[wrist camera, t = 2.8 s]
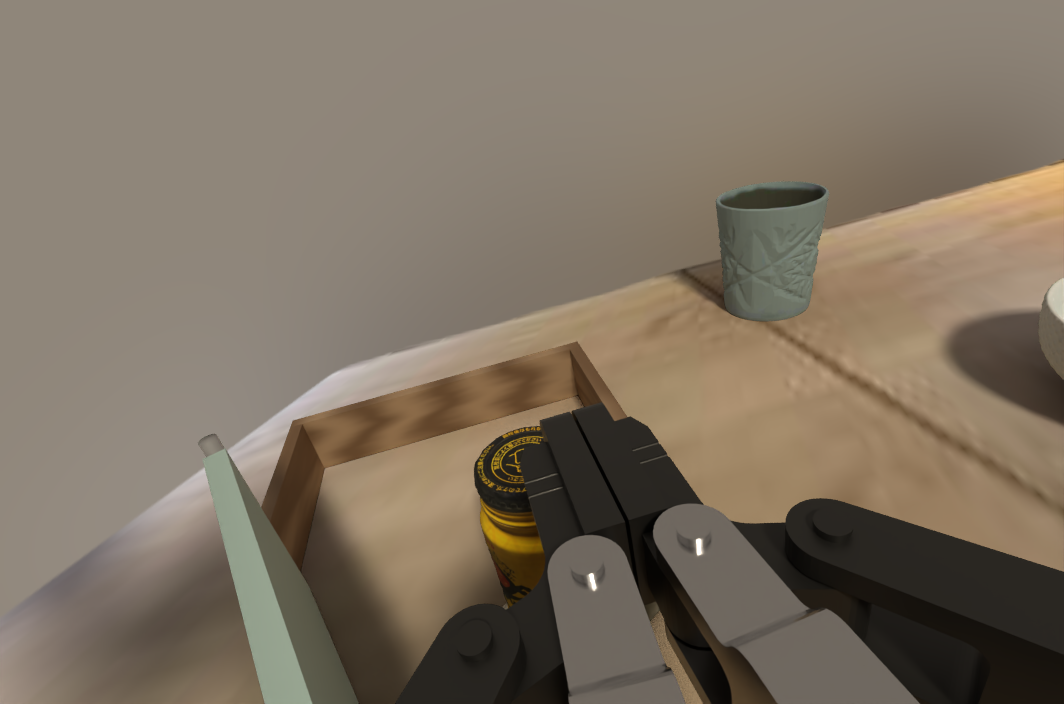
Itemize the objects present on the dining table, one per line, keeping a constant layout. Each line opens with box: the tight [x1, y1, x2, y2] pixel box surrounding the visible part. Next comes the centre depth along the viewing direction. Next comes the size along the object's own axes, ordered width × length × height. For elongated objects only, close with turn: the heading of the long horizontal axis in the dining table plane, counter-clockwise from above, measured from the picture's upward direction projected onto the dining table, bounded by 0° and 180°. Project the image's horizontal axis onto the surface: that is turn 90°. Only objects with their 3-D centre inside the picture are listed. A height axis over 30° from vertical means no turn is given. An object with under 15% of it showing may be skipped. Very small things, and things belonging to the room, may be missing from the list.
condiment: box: [474, 426, 660, 621], centre depth 28 cm, size 7×8×12 cm
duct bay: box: [261, 342, 627, 571], centre depth 42 cm, size 26×13×5 cm, turn 102°
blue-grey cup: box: [716, 182, 829, 321], centre depth 55 cm, size 10×10×12 cm
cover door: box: [198, 434, 359, 704], centre depth 25 cm, size 22×1×13 cm, turn 37°
